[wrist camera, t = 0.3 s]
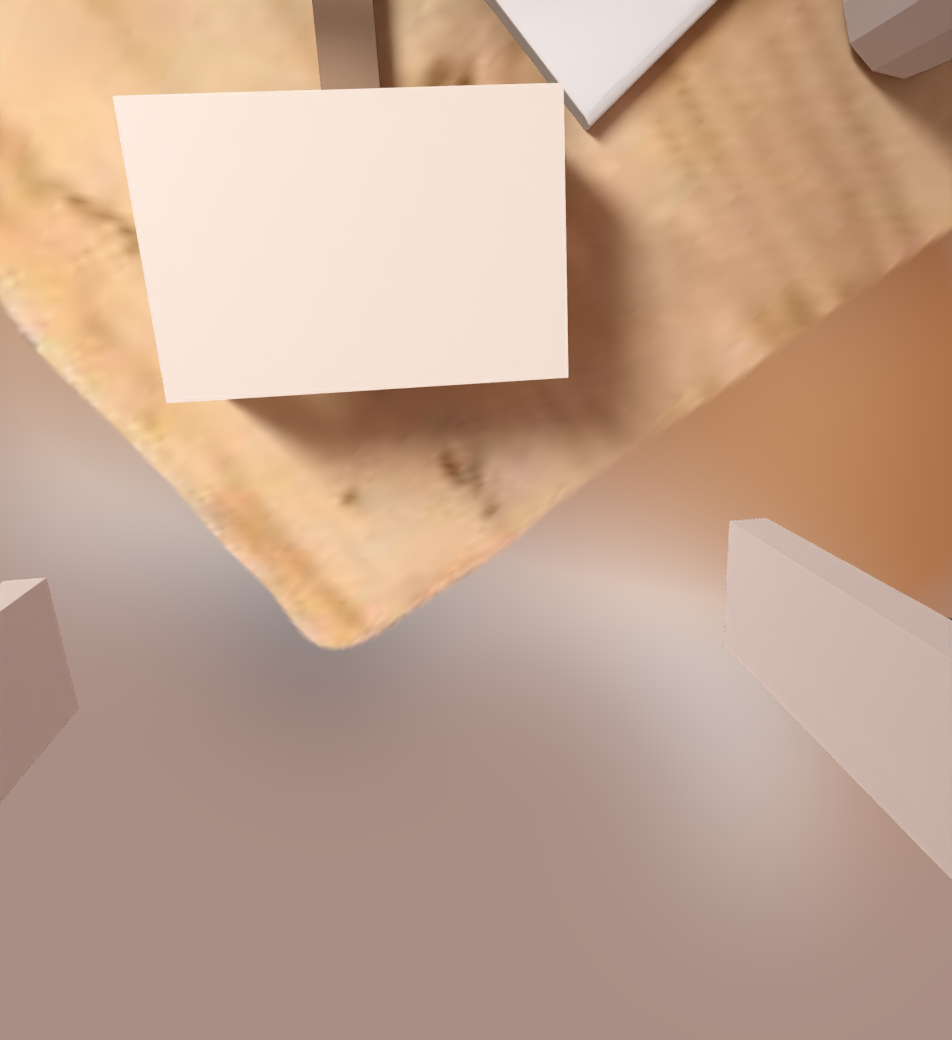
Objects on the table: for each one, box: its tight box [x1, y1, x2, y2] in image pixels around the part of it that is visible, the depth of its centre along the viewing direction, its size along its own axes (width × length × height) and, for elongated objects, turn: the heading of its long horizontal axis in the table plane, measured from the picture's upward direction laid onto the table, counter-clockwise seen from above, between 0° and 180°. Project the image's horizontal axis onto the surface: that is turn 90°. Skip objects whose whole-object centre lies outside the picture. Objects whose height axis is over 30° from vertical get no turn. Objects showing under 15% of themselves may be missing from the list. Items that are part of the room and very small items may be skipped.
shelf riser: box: [113, 83, 569, 403], centre depth 33 cm, size 12×18×8 cm, turn 93°
